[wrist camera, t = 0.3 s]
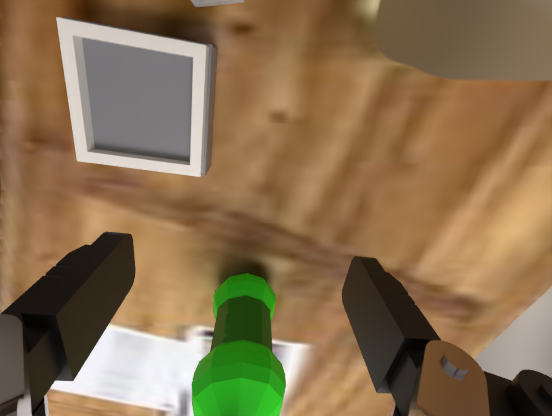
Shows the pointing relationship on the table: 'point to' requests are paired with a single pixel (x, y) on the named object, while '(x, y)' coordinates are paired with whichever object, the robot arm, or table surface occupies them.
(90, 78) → the grey square tray
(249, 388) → the plastic bottle
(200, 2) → the small box
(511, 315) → the table surface
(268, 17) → the table surface
